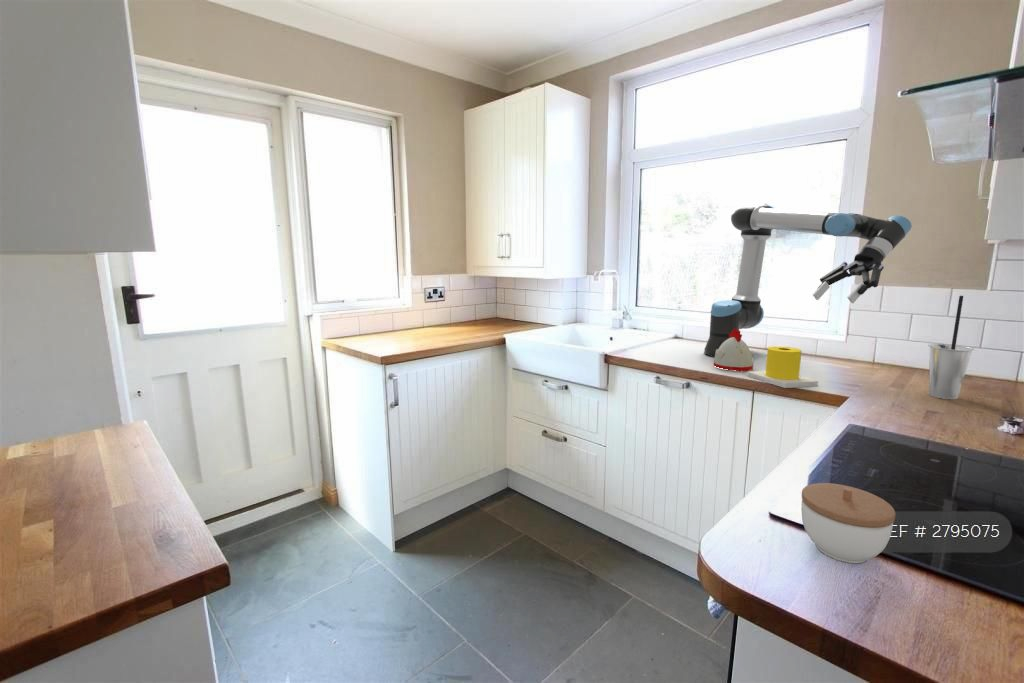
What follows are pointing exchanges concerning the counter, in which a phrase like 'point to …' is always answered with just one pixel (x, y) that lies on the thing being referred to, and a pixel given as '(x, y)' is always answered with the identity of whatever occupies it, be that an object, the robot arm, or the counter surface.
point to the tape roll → (783, 363)
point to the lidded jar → (846, 521)
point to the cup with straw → (948, 365)
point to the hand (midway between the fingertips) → (831, 298)
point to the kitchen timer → (734, 354)
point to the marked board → (781, 382)
